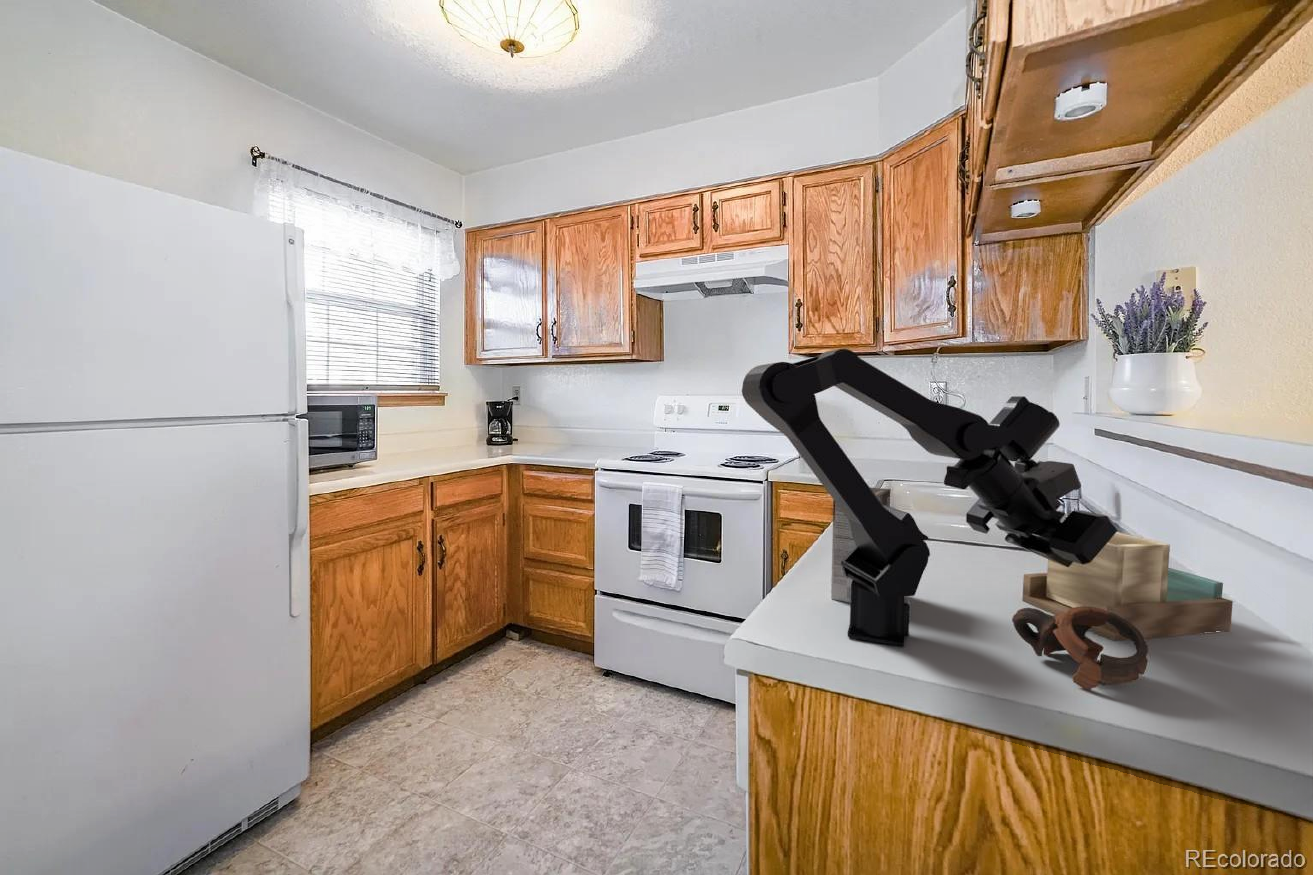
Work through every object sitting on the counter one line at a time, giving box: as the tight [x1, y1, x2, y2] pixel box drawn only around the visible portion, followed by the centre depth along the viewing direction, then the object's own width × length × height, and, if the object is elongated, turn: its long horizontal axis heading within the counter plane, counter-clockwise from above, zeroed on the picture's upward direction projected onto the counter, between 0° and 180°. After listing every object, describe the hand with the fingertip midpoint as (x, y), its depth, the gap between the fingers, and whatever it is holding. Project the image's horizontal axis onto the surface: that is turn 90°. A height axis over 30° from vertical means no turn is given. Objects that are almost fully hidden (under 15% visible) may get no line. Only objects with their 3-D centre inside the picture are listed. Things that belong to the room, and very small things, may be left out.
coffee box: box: [830, 487, 891, 603], centre depth 85 cm, size 9×6×16 cm
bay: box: [1022, 567, 1234, 642], centre depth 78 cm, size 18×14×6 cm
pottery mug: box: [1011, 606, 1149, 691], centre depth 62 cm, size 12×9×8 cm
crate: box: [1046, 531, 1171, 611], centre depth 77 cm, size 8×10×10 cm
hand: (1068, 563), depth 76 cm, fingers closed
